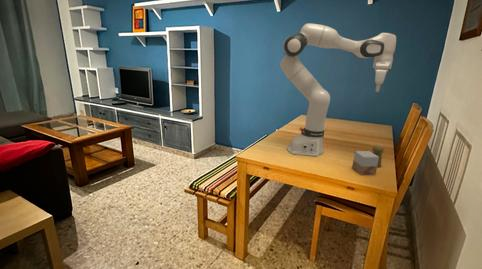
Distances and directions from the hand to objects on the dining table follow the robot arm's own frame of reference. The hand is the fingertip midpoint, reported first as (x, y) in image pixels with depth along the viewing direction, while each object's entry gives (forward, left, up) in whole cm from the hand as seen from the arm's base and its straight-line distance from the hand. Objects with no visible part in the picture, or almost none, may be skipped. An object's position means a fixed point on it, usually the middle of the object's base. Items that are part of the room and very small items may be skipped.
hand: (377, 90), depth 139 cm
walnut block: (-12, -22, -39) cm, 46 cm away
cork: (-1, -14, -39) cm, 42 cm away
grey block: (-12, -22, -34) cm, 42 cm away
